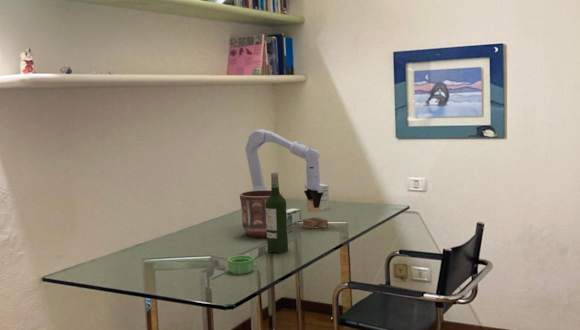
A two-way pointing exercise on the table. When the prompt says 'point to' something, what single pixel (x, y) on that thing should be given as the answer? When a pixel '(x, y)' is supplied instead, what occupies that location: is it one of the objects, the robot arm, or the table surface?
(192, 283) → the table surface
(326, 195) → the supplement box
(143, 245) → the table surface
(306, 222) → the walnut block
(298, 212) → the syrup box
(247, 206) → the pottery
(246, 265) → the ramekin
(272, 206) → the wine bottle
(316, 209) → the terracotta cube
